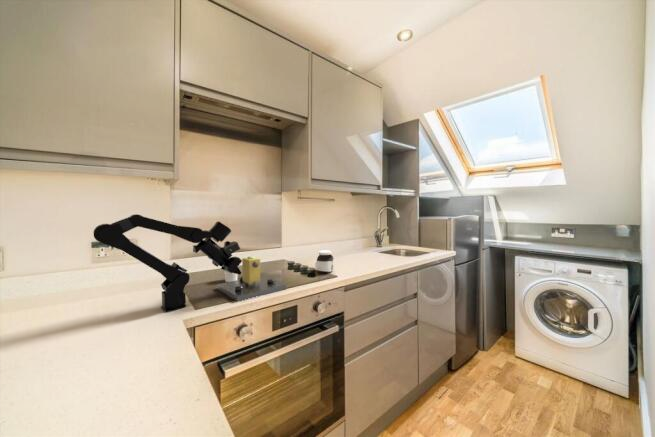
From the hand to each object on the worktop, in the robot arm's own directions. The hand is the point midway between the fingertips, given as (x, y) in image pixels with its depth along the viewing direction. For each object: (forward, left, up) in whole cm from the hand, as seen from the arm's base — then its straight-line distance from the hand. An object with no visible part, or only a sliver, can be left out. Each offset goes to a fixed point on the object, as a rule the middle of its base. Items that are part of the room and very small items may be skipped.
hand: (240, 273), depth 108 cm
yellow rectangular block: (+5, -1, -4) cm, 6 cm away
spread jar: (+48, -4, -8) cm, 49 cm away
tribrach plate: (+5, -1, -8) cm, 9 cm away
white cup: (+6, +19, -8) cm, 22 cm away
